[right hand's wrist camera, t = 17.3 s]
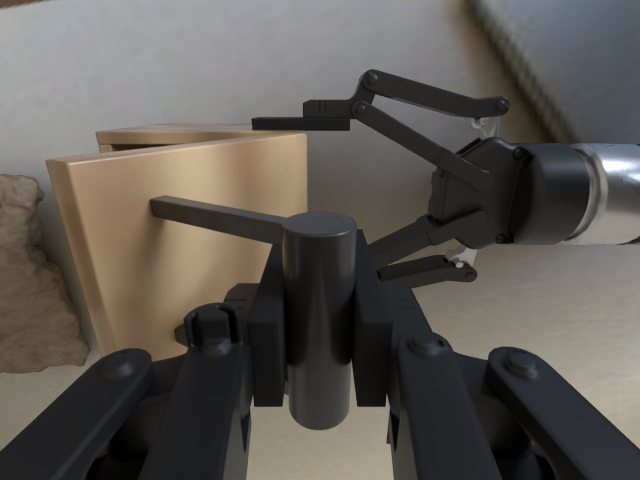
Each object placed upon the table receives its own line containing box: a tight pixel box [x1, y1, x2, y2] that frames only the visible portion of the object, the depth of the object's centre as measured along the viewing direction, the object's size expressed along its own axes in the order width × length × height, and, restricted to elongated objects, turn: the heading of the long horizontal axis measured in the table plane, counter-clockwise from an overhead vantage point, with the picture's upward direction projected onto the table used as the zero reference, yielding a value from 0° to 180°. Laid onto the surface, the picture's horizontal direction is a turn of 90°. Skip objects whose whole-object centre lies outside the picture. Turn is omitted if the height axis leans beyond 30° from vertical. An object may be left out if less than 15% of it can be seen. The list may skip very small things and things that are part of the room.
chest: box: [96, 124, 305, 153], centre depth 27 cm, size 13×10×9 cm
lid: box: [46, 132, 357, 430], centre depth 15 cm, size 13×10×9 cm
